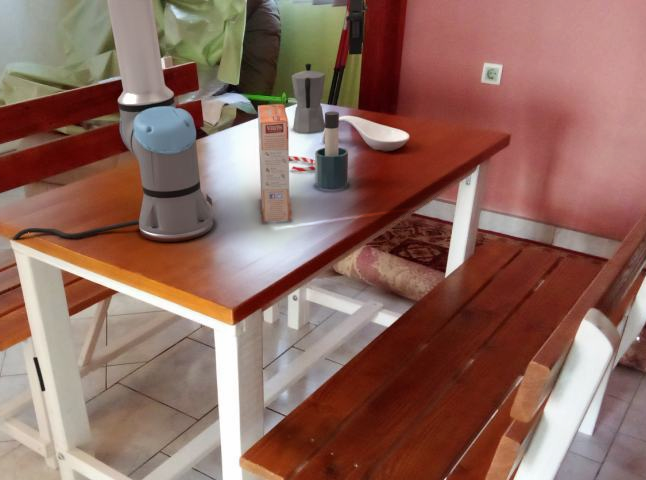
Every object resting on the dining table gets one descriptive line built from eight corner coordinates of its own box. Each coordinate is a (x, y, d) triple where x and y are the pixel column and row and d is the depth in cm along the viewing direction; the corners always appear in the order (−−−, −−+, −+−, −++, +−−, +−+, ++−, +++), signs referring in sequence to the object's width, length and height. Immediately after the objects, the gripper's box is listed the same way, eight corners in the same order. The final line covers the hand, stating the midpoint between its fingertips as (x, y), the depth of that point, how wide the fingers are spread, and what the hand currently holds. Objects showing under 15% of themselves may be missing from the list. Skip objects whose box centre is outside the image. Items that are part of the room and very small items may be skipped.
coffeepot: (293, 123, 213) (292, 59, 203) (325, 122, 212) (325, 58, 202) (291, 138, 200) (289, 70, 190) (325, 137, 199) (325, 69, 189)
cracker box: (291, 221, 148) (289, 119, 137) (262, 223, 148) (257, 121, 137) (287, 198, 160) (285, 102, 149) (261, 199, 160) (256, 104, 149)
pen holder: (321, 193, 162) (321, 158, 157) (311, 183, 168) (311, 149, 163) (351, 189, 163) (352, 154, 159) (341, 179, 169) (341, 145, 165)
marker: (327, 186, 163) (327, 115, 155) (323, 182, 166) (322, 112, 157) (340, 184, 164) (340, 113, 155) (335, 180, 166) (336, 110, 158)
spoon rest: (415, 144, 188) (417, 117, 185) (398, 157, 180) (400, 129, 176) (334, 135, 200) (334, 109, 196) (314, 147, 191) (314, 120, 187)
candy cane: (282, 151, 186) (326, 161, 176) (282, 156, 186) (326, 166, 177) (261, 158, 181) (305, 170, 172) (261, 164, 182) (305, 175, 173)
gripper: (376, -61, 135) (372, 58, 146) (378, -67, 156) (374, 38, 167) (336, -59, 136) (336, 59, 147) (343, -65, 157) (342, 39, 168)
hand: (356, 48), depth 157 cm, fingers open, 13 cm apart
